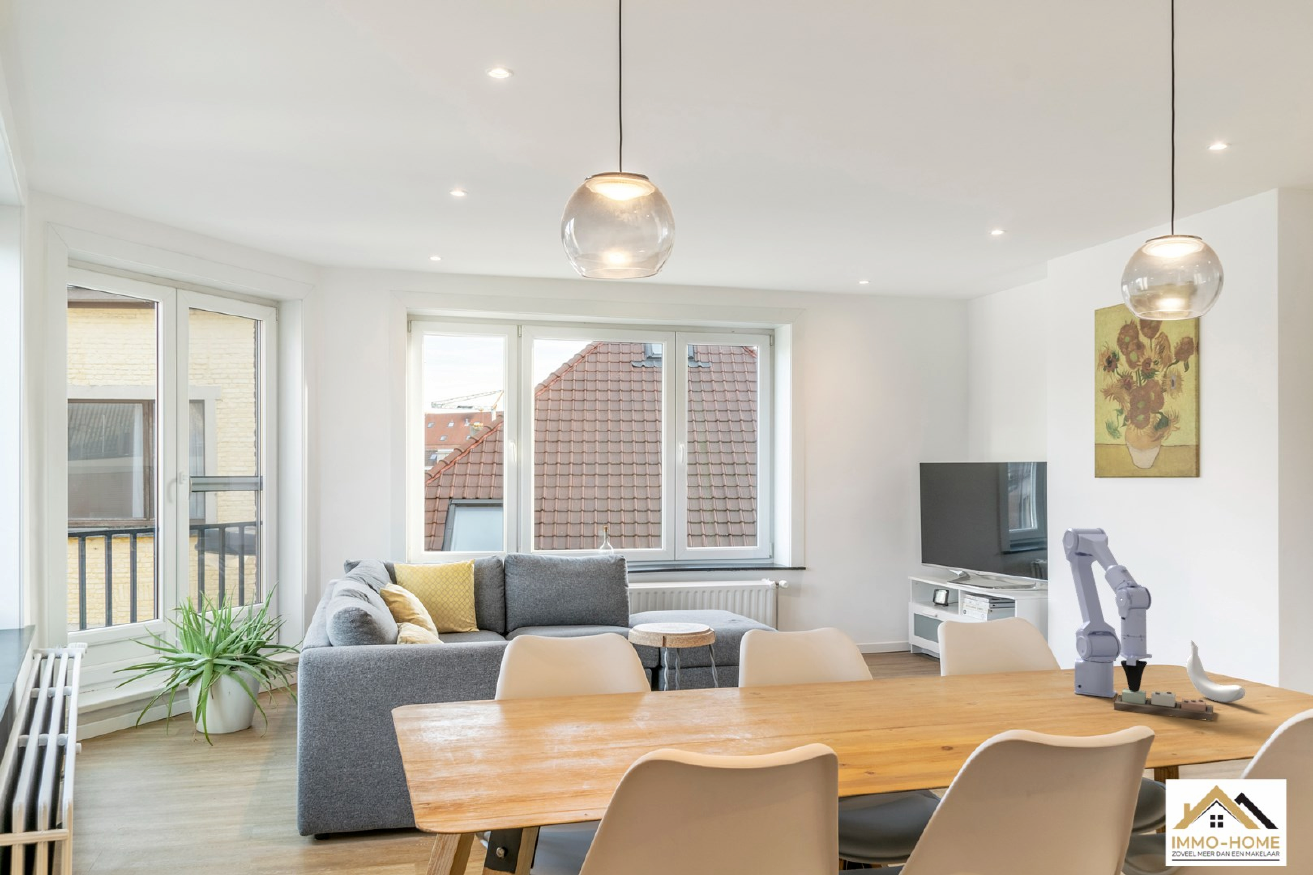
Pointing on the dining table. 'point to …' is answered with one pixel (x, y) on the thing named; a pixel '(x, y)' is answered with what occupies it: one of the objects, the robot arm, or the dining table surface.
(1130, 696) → the tile one
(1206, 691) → the banana
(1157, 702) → the tile two
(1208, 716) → the dice tray
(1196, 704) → the tile three
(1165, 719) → the dining table surface
